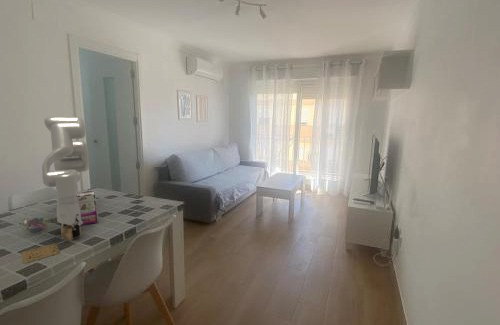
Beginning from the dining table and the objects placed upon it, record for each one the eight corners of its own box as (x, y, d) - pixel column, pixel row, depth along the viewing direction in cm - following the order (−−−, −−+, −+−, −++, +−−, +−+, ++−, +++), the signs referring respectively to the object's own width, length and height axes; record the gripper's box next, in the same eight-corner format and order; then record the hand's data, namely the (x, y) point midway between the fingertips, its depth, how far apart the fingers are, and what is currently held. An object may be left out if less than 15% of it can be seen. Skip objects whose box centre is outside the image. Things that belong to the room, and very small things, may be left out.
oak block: (61, 238, 120) (60, 227, 119) (73, 233, 126) (71, 223, 125) (70, 240, 119) (69, 229, 118) (81, 235, 124) (80, 224, 123)
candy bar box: (98, 219, 142) (95, 191, 140) (97, 223, 138) (95, 193, 135) (74, 223, 137) (71, 193, 134) (72, 226, 133) (69, 196, 130)
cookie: (20, 253, 107) (20, 251, 107) (56, 244, 116) (56, 242, 116) (22, 265, 99) (22, 263, 99) (61, 254, 108) (60, 252, 107)
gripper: (46, 199, 118) (50, 236, 121) (73, 204, 113) (77, 242, 116) (62, 195, 125) (66, 229, 128) (88, 199, 120) (92, 235, 123)
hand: (71, 235), depth 122 cm, fingers open, 5 cm apart
